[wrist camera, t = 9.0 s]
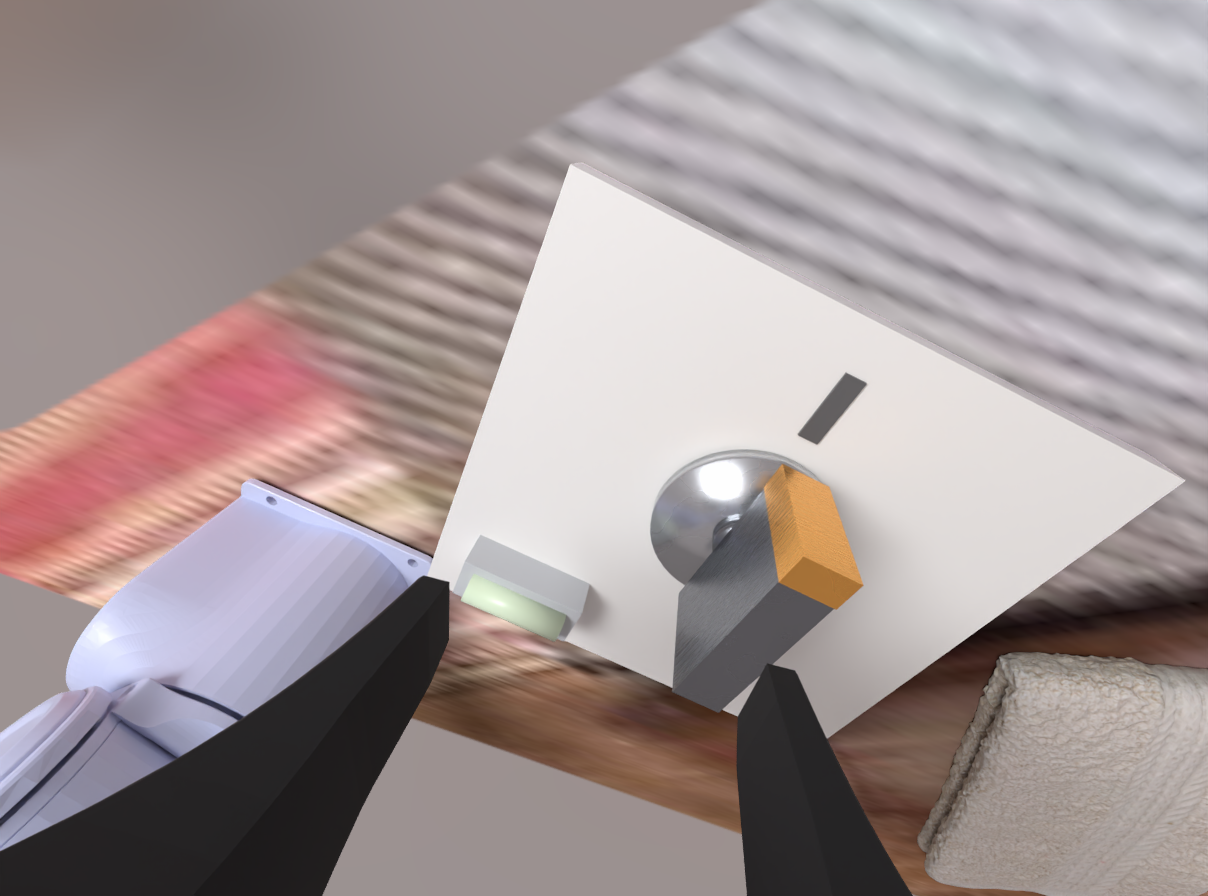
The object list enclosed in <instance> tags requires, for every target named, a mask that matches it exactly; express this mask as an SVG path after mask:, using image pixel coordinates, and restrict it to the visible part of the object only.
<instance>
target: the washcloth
mask: <svg viewBox="0 0 1208 896" xmlns="http://www.w3.org/2000/svg"><path fill="white" fill-rule="evenodd" d="M999 658H1000V659H997V661H996V664H997V667H996V668H995V670H994V674H993V675H992V676H991V678H990V679H989V684H988V685H989V686H987V685H986V687H985V688H984V689H983V691H984V692H985V695H984V696H982V697H980V701H979V705H978V708H977V711H976V712H975V718H974V720H973V722H971V723H969V724H970V727H969V728H968V729H967V732H966V734H965V735H964V736H963V737H962V739H961V743H962V744H961V746H960V747H959V749H957V750H956V755H955V756H954V761H953V762H954V765H952V767H951V768H950V777H948V778H947V780H946V783H945V784H944V785H943V786H942V793H941V796H940V799H939V800H938V801H937V802H935V807H934V808H933V809H932V810H931V813H930V814H929V818H928V820H926V824H925V825H924V826H923V827H922V831H921V832H920V833H919V835H918V840H917V842H918V845H919V847H920V848H921V849H922V850H923V851H924V852H926V853H927V854H926V860H925V862H924V864H925V870H926V872H927V874H928V875H929V876H930V877H932V878H933V879H934V880H936V881H938V882H940V883H943V884H947V885H952V886H957V887H964V888H979V889H1005V890H1015V891H1019V890H1023V891H1032V892H1036V893H1039V894H1044V895H1047V896H1199V895H1200V894H1203V893H1205V892H1207V891H1208V669H1206V668H1191V667H1186V666H1170V665H1166V664H1155V665H1150V664H1144V663H1142V662H1139V661H1137V660H1135V659H1133V658H1129V657H1128V658H1124V659H1121V658H1114V657H1106V658H1100V657H1096V656H1091V655H1090V656H1089V657H1082V656H1078V655H1076V656H1071V655H1068V654H1058V653H1056V654H1053V655H1050V654H1046V653H1040V652H1033V653H1026V652H1015V653H1008V654H1006V655H1001V656H1000V657H999Z"/></svg>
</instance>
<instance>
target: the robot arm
mask: <svg viewBox="0 0 1208 896" xmlns="http://www.w3.org/2000/svg"><path fill="white" fill-rule="evenodd" d="M432 560H433V558H431V557H430V556H428V555H426V554H423V553H421V552H419V551H417V550H414V549H412V548H410V547H408V546H405V545H403V544H401V543H399V542H396V541H394V540H392V539H390V538H387V537H385V536H383V535H381V534H378V533H376V532H374V531H372V530H369V529H367V528H365V527H363V526H360V525H358V524H356V523H354V522H351V521H349V520H347V519H345V518H342V517H340V516H338V515H336V514H333V513H331V512H329V511H327V510H324V509H322V508H320V507H318V506H315V505H313V504H311V503H309V502H306V501H304V500H302V499H300V498H297V497H295V496H293V495H291V494H288V493H286V492H284V491H281V490H279V489H277V488H275V487H272V486H270V485H268V484H266V483H263V482H261V481H259V480H256V479H249V480H247V481H246V482H244V483H243V484H242V486H241V497H239V498H238V499H237V500H235V501H234V502H233V503H231V504H230V505H229V506H228V507H226V508H225V509H224V510H222V511H221V512H220V513H218V514H217V515H216V516H214V517H213V518H212V519H210V520H209V521H208V522H207V523H205V524H204V525H203V526H201V527H200V528H199V529H197V530H196V531H195V532H193V533H192V534H191V535H190V536H188V537H187V538H186V539H184V540H183V541H182V542H180V543H179V544H178V545H176V546H175V547H174V548H173V549H171V550H170V551H169V552H167V553H166V554H165V555H163V556H162V557H161V558H159V559H158V560H157V561H155V562H154V563H153V564H152V565H150V566H149V567H148V568H146V569H145V570H144V571H142V572H141V573H140V574H138V575H137V576H136V577H135V578H133V579H132V580H131V581H130V582H128V583H127V584H126V585H125V586H124V587H123V588H121V589H120V590H119V591H118V592H117V593H116V594H115V595H114V596H113V597H112V598H111V599H110V600H109V601H108V602H107V603H106V604H105V605H104V607H103V608H102V609H101V610H100V611H99V612H98V613H97V615H96V616H95V617H94V618H93V620H92V621H91V622H90V623H89V625H88V626H87V627H86V629H85V630H84V632H83V633H82V634H81V636H80V637H79V639H78V641H77V643H76V645H75V646H74V649H73V651H72V653H71V656H70V658H69V662H68V666H67V670H66V682H67V686H68V688H69V690H70V691H69V692H63V693H60V694H57V695H55V696H53V697H51V698H50V699H48V700H47V701H45V702H43V703H42V704H40V705H39V706H37V707H36V708H34V709H33V710H32V711H30V712H28V713H27V714H25V715H24V716H23V717H21V718H20V719H18V720H17V721H16V722H14V723H13V724H12V725H10V726H9V727H8V728H6V729H5V730H4V731H2V732H1V733H0V896H322V894H323V892H324V890H325V888H326V886H327V883H328V881H329V878H330V877H331V874H332V872H333V870H334V867H335V865H336V863H337V861H338V858H339V856H340V854H341V852H342V849H343V848H344V846H345V843H346V841H347V839H348V837H349V835H350V832H351V830H352V828H353V826H354V824H355V821H356V819H357V817H358V815H359V813H360V811H361V809H362V806H363V805H364V803H365V801H366V799H367V797H368V795H369V793H370V791H371V789H372V787H373V785H374V783H375V782H376V780H377V778H378V776H379V775H380V773H381V771H382V769H383V767H384V766H385V764H386V762H387V760H388V758H389V757H390V755H391V753H392V751H393V750H394V748H395V746H396V744H397V742H398V741H399V739H400V737H401V735H402V734H403V732H404V730H405V728H406V726H407V725H408V723H409V721H410V719H411V718H412V716H413V714H414V712H415V710H416V708H417V707H418V705H419V703H420V701H421V699H422V698H423V696H424V694H425V692H426V690H427V689H428V687H429V685H430V683H431V680H432V678H433V676H434V674H435V671H436V669H437V667H438V665H439V662H440V660H441V657H442V655H443V653H444V650H445V648H446V645H447V643H448V641H449V583H450V582H448V581H444V580H440V579H436V578H432V577H428V576H427V575H428V572H429V569H430V566H431V563H432ZM737 779H738V792H739V804H740V816H741V828H742V840H743V852H744V863H745V875H746V887H747V896H913V895H912V894H911V892H910V891H909V889H908V887H907V886H906V884H905V883H904V881H903V879H902V878H901V876H900V874H899V873H898V871H897V869H896V868H895V866H894V864H893V862H892V861H891V859H890V857H889V856H888V854H887V852H886V850H885V849H884V847H883V845H882V843H881V842H880V840H879V838H878V836H877V834H876V833H875V831H874V829H873V827H872V825H871V824H870V822H869V820H868V818H867V817H866V815H865V813H864V811H863V809H862V807H861V805H860V803H859V802H858V800H857V798H856V796H855V794H854V792H853V790H852V788H851V786H850V784H849V782H848V780H847V778H846V776H845V774H844V772H843V770H842V768H841V766H840V764H839V762H838V761H837V759H836V756H835V754H834V752H833V750H832V748H831V746H830V744H829V742H828V740H827V738H826V736H825V734H824V731H823V729H822V727H821V725H820V723H819V721H818V719H817V716H816V714H815V712H814V710H813V708H812V705H811V703H810V701H809V699H808V697H807V694H806V692H805V690H804V688H803V685H802V683H801V681H800V679H799V676H798V674H797V673H796V671H795V670H791V669H788V668H784V667H780V666H776V665H772V664H768V663H767V664H766V666H765V668H764V670H763V671H762V673H761V675H760V677H759V679H758V681H757V682H756V684H755V686H754V688H753V690H752V692H751V693H750V695H749V697H748V699H747V701H746V702H745V704H744V706H743V708H742V710H741V712H740V713H739V715H738V730H737Z"/></svg>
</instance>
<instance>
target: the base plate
mask: <svg viewBox="0 0 1208 896" xmlns="http://www.w3.org/2000/svg"><path fill="white" fill-rule="evenodd" d="M738 449H749V450H760V451H766V452H771V453H775V454H778V455H782V456H784V457H787V458H789V459H791V460H794V461H796V462H797V463H799V464H801V465H802V466H804V467H806V468H807V469H808V470H809V471H811V472H812V473H813V474H814V475H815V476H816V477H817V478H818V479H819V480H820V481H821V482H822V483H823V484H825V485H827V486H829V487H830V490H831V493H832V496H833V499H834V502H835V505H836V507H837V510H838V513H839V516H840V519H841V522H842V525H843V528H844V531H845V533H846V536H847V539H848V542H849V545H850V548H851V551H852V554H853V556H854V559H855V562H856V565H857V568H858V571H859V574H860V577H861V579H862V582H863V585H864V586H863V587H861V588H860V589H859V590H858V591H857V592H856V593H855V594H854V595H852V596H851V597H850V598H849V599H848V600H847V601H846V602H845V603H844V604H842V605H841V606H840V607H839V608H838V609H837V610H835V609H834V610H832V611H831V612H830V613H829V614H828V615H827V616H826V617H825V618H824V619H822V620H821V621H820V622H819V623H818V624H817V625H816V626H815V627H814V628H812V629H811V630H810V631H809V632H808V633H807V634H806V635H805V636H804V637H802V638H801V639H800V640H799V641H798V642H797V643H796V644H795V645H794V646H792V647H791V648H790V649H789V650H788V651H787V652H786V653H785V654H784V655H782V656H781V657H780V658H779V659H778V660H777V661H776V662H775V663H774V664H772V665H776V666H780V667H784V668H788V669H791V670H795V671H796V673H797V674H798V676H799V679H800V681H801V683H802V685H803V688H804V690H805V692H806V694H807V697H808V699H809V701H810V703H811V705H812V708H813V710H814V712H815V714H816V716H817V719H818V721H819V723H820V725H821V727H822V729H823V731H824V734H825V736H826V738H829V737H830V736H832V735H833V734H834V733H836V732H837V731H838V730H840V729H841V728H843V727H844V726H845V725H847V724H848V723H850V722H851V721H852V720H854V719H855V718H857V717H858V716H859V715H861V714H862V713H863V712H865V711H866V710H868V709H869V708H870V707H872V706H873V705H875V704H876V703H877V702H879V701H880V700H882V699H883V698H884V697H886V696H887V695H889V694H890V693H891V692H893V691H894V690H895V689H897V688H898V687H900V686H901V685H902V684H904V683H905V682H907V681H908V680H909V679H911V678H912V677H914V676H915V675H916V674H918V673H919V672H920V671H922V670H923V669H925V668H926V667H927V666H929V665H930V664H932V663H933V662H934V661H936V660H937V659H939V658H940V657H941V656H943V655H944V654H946V653H947V652H948V651H950V650H951V649H952V648H954V647H955V646H957V645H958V644H959V643H961V642H962V641H964V640H965V639H966V638H968V637H969V636H971V635H972V634H973V633H975V632H976V631H977V630H979V629H980V628H982V627H983V626H984V625H986V624H987V623H989V622H990V621H991V620H993V619H994V618H996V617H997V616H998V615H1000V614H1001V613H1003V612H1004V611H1005V610H1007V609H1008V608H1009V607H1011V606H1012V605H1014V604H1015V603H1016V602H1018V601H1019V600H1021V599H1022V598H1023V597H1025V596H1026V595H1028V594H1029V593H1030V592H1032V591H1033V590H1034V589H1036V588H1037V587H1039V586H1040V585H1041V584H1043V583H1044V582H1046V581H1047V580H1048V579H1050V578H1051V577H1053V576H1054V575H1055V574H1057V573H1058V572H1060V571H1061V570H1062V569H1064V568H1065V567H1066V566H1068V565H1069V564H1071V563H1072V562H1073V561H1075V560H1076V559H1078V558H1079V557H1080V556H1082V555H1083V554H1085V553H1086V552H1087V551H1089V550H1090V549H1091V548H1093V547H1094V546H1096V545H1097V544H1098V543H1100V542H1101V541H1103V540H1104V539H1105V538H1107V537H1108V536H1110V535H1111V534H1112V533H1114V532H1115V531H1117V530H1118V529H1119V528H1121V527H1122V526H1123V525H1125V524H1126V523H1128V522H1129V521H1130V520H1132V519H1133V518H1135V517H1136V516H1137V515H1139V514H1140V513H1142V512H1143V511H1144V510H1146V509H1147V508H1148V507H1150V506H1151V505H1153V504H1154V503H1155V502H1157V501H1158V500H1160V499H1161V498H1162V497H1164V496H1165V495H1167V494H1168V493H1169V492H1171V491H1172V490H1174V489H1175V488H1176V487H1178V486H1179V485H1180V484H1182V483H1183V482H1185V480H1184V479H1183V478H1181V477H1180V476H1179V475H1177V474H1176V473H1174V472H1173V471H1172V470H1170V469H1169V468H1167V467H1166V466H1165V465H1163V464H1162V463H1160V462H1159V461H1158V460H1156V459H1155V458H1153V457H1152V456H1151V455H1149V454H1147V453H1145V452H1143V451H1141V450H1140V449H1138V448H1136V447H1134V446H1132V445H1130V444H1128V443H1126V442H1124V441H1122V440H1120V439H1118V438H1116V437H1114V436H1112V435H1110V434H1108V433H1107V432H1105V431H1103V430H1101V429H1099V428H1097V427H1095V426H1093V425H1091V424H1089V423H1087V422H1085V421H1083V420H1081V419H1079V418H1077V417H1076V416H1074V415H1072V414H1070V413H1068V412H1066V411H1064V410H1062V409H1060V408H1058V407H1056V406H1054V405H1052V404H1050V403H1048V402H1046V401H1044V400H1043V399H1041V398H1039V397H1037V396H1035V395H1033V394H1031V393H1029V392H1027V391H1025V390H1023V389H1021V388H1019V387H1017V386H1015V385H1013V384H1011V383H1010V382H1008V381H1006V380H1004V379H1002V378H1000V377H998V376H996V375H994V374H992V373H990V372H988V371H986V370H984V369H982V368H980V367H979V366H977V365H975V364H973V363H971V362H969V361H967V360H965V359H963V358H961V357H959V356H957V355H955V354H953V353H951V352H949V351H947V350H946V349H944V348H942V347H940V346H938V345H936V344H934V343H932V342H930V341H928V340H926V339H924V338H922V337H920V336H918V335H916V334H914V333H913V332H911V331H909V330H907V329H905V328H903V327H901V326H899V325H897V324H895V323H893V322H891V321H889V320H887V319H885V318H883V317H882V316H880V315H878V314H876V313H874V312H872V311H870V310H868V309H866V308H864V307H862V306H860V305H858V304H856V303H854V302H852V301H850V300H849V299H847V298H845V297H843V296H841V295H839V294H837V293H835V292H833V291H831V290H829V289H827V288H825V287H823V286H821V285H819V284H817V283H816V282H814V281H812V280H810V279H808V278H806V277H804V276H802V275H800V274H798V273H796V272H794V271H792V270H790V269H788V268H786V267H785V266H783V265H781V264H779V263H777V262H775V261H773V260H771V259H769V258H767V257H765V256H763V255H761V254H759V253H757V252H755V251H753V250H752V249H750V248H748V247H746V246H744V245H742V244H740V243H738V242H736V241H734V240H732V239H730V238H728V237H726V236H724V235H722V234H720V233H719V232H717V231H715V230H713V229H711V228H709V227H707V226H705V225H703V224H701V223H699V222H697V221H695V220H693V219H691V218H689V217H688V216H686V215H684V214H682V213H680V212H678V211H676V210H674V209H672V208H670V207H668V206H666V205H664V204H662V203H660V202H658V201H656V200H655V199H653V198H651V197H649V196H647V195H645V194H643V193H641V192H639V191H637V190H635V189H633V188H631V187H629V186H627V185H625V184H623V183H622V182H620V181H618V180H616V179H614V178H612V177H610V176H608V175H606V174H604V173H602V172H600V171H598V170H596V169H594V168H592V167H591V166H589V165H587V164H585V163H583V162H580V163H574V164H570V166H569V169H568V172H567V175H566V178H565V181H564V184H563V187H562V189H561V192H560V195H559V198H558V201H557V204H556V207H555V210H554V212H553V215H552V218H551V221H550V224H549V227H548V230H547V233H546V235H545V238H544V241H543V244H542V247H541V250H540V253H539V256H538V258H537V261H536V264H535V267H534V270H533V273H532V276H531V279H530V281H529V284H528V287H527V290H526V293H525V296H524V299H523V302H522V304H521V307H520V310H519V313H518V316H517V319H516V322H515V325H514V327H513V330H512V333H511V336H510V339H509V342H508V345H507V348H506V350H505V353H504V356H503V359H502V362H501V365H500V368H499V371H498V373H497V376H496V379H495V382H494V385H493V388H492V391H491V394H490V396H489V399H488V402H487V405H486V408H485V411H484V414H483V417H482V419H481V422H480V425H479V428H478V431H477V434H476V437H475V440H474V442H473V445H472V448H471V451H470V454H469V457H468V460H467V463H466V466H465V468H464V471H463V474H462V477H461V480H460V483H459V486H458V489H457V491H456V494H455V497H454V500H453V503H452V506H451V509H450V512H449V514H448V517H447V520H446V523H445V526H444V529H443V532H442V535H441V537H440V540H439V543H438V546H437V549H436V552H435V555H434V558H433V560H432V563H431V566H430V569H429V572H428V575H427V576H428V577H432V578H436V579H440V580H444V581H448V582H450V583H449V590H451V591H453V592H452V593H455V594H457V595H459V596H461V597H462V599H461V601H462V602H465V603H467V604H469V605H471V606H474V607H476V608H478V609H481V610H483V611H485V612H487V613H490V614H492V615H494V616H496V617H499V618H501V619H503V620H506V621H508V622H510V623H512V624H515V625H517V626H519V627H522V628H524V629H526V630H528V631H531V632H533V633H535V634H537V635H540V636H542V637H544V638H547V639H549V640H551V641H553V642H555V641H556V639H559V640H561V641H567V642H570V643H572V644H574V645H576V646H579V647H581V648H583V649H585V650H588V651H590V652H592V653H595V654H597V655H599V656H601V657H604V658H606V659H608V660H610V661H613V662H615V663H617V664H620V665H622V666H624V667H626V668H629V669H631V670H633V671H635V672H638V673H640V674H642V675H645V676H647V677H649V678H651V679H654V680H656V681H658V682H660V683H663V684H665V685H667V686H670V687H673V672H674V656H675V641H676V626H677V611H678V596H679V592H680V591H681V590H682V589H683V587H684V586H685V585H683V584H682V583H680V582H679V581H678V580H676V579H675V578H674V577H673V576H672V575H671V574H670V573H669V572H668V571H667V570H666V569H665V568H664V567H663V565H662V564H661V562H660V561H659V559H658V558H657V556H656V554H655V551H654V549H653V546H652V542H651V536H650V523H651V516H652V510H653V505H654V502H655V500H656V497H657V495H658V493H659V491H660V489H661V488H662V486H663V485H664V484H665V483H666V481H667V480H668V479H669V478H670V477H671V476H672V475H673V474H674V473H675V472H676V471H678V470H679V469H680V468H682V467H683V466H685V465H686V464H688V463H690V462H692V461H694V460H696V459H698V458H701V457H703V456H705V455H709V454H712V453H716V452H721V451H727V450H738ZM759 677H760V676H759ZM759 677H758V678H757V679H756V680H755V681H753V682H752V683H751V684H750V685H749V686H748V687H747V688H746V689H745V690H743V691H742V692H741V693H740V694H739V695H738V696H737V697H736V698H735V699H733V700H732V701H731V702H730V703H729V704H728V705H727V706H726V707H725V708H723V709H722V710H724V711H726V712H729V713H731V714H733V715H735V716H738V715H739V713H740V712H741V710H742V708H743V706H744V704H745V702H746V701H747V699H748V697H749V695H750V693H751V692H752V690H753V688H754V686H755V684H756V682H757V681H758V679H759Z"/></svg>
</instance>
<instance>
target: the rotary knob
mask: <svg viewBox="0 0 1208 896" xmlns="http://www.w3.org/2000/svg"><path fill="white" fill-rule="evenodd" d="M650 536H651V542H652V546H653V549H654V551H655V554H656V556H657V558H658V559H659V561H660V562H661V564H662V565H663V567H664V568H665V569H666V570H667V571H668V572H669V573H670V574H671V575H672V576H673V577H674V578H675V579H676V580H678V581H679V582H680V583H682V584H683V585H685V586H684V587H683V589H682V590H681V591H680V592H679V596H678V611H677V626H676V641H675V656H674V672H673V687H672V692H674V693H676V694H678V695H680V696H683V697H685V698H687V699H689V700H691V701H694V702H696V703H698V704H700V705H703V706H705V707H707V708H709V709H712V710H714V711H716V712H718V713H719V712H720V711H721V710H722V709H723V708H725V707H726V706H727V705H728V704H729V703H730V702H731V701H732V700H733V699H735V698H736V697H737V696H738V695H739V694H740V693H741V692H742V691H743V690H745V689H746V688H747V687H748V686H749V685H750V684H751V683H752V682H753V681H755V680H756V679H757V678H758V677H759V676H760V675H761V673H762V671H763V670H764V668H765V666H766V664H767V663H768V664H774V663H775V662H776V661H777V660H778V659H779V658H780V657H781V656H782V655H784V654H785V653H786V652H787V651H788V650H789V649H790V648H791V647H792V646H794V645H795V644H796V643H797V642H798V641H799V640H800V639H801V638H802V637H804V636H805V635H806V634H807V633H808V632H809V631H810V630H811V629H812V628H814V627H815V626H816V625H817V624H818V623H819V622H820V621H821V620H822V619H824V618H825V617H826V616H827V615H828V614H829V613H830V612H831V611H832V610H834V609H835V610H837V609H838V608H839V607H840V606H841V605H842V604H844V603H845V602H846V601H847V600H848V599H849V598H850V597H851V596H852V595H854V594H855V593H856V592H857V591H858V590H859V589H860V588H861V587H863V586H864V585H863V582H862V579H861V577H860V574H859V571H858V568H857V565H856V562H855V559H854V556H853V554H852V551H851V548H850V545H849V542H848V539H847V536H846V533H845V531H844V528H843V525H842V522H841V519H840V516H839V513H838V510H837V507H836V505H835V502H834V499H833V496H832V493H831V490H830V487H829V486H827V485H825V484H823V483H822V482H821V481H820V480H819V479H818V478H817V477H816V476H815V475H814V474H813V473H812V472H811V471H809V470H808V469H807V468H806V467H804V466H802V465H801V464H799V463H797V462H796V461H794V460H791V459H789V458H787V457H784V456H782V455H778V454H775V453H771V452H766V451H760V450H749V449H738V450H727V451H721V452H716V453H712V454H709V455H705V456H703V457H701V458H698V459H696V460H694V461H692V462H690V463H688V464H686V465H685V466H683V467H682V468H680V469H679V470H678V471H676V472H675V473H674V474H673V475H672V476H671V477H670V478H669V479H668V480H667V481H666V483H665V484H664V485H663V486H662V488H661V489H660V491H659V493H658V495H657V497H656V500H655V502H654V505H653V510H652V516H651V523H650Z"/></svg>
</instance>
